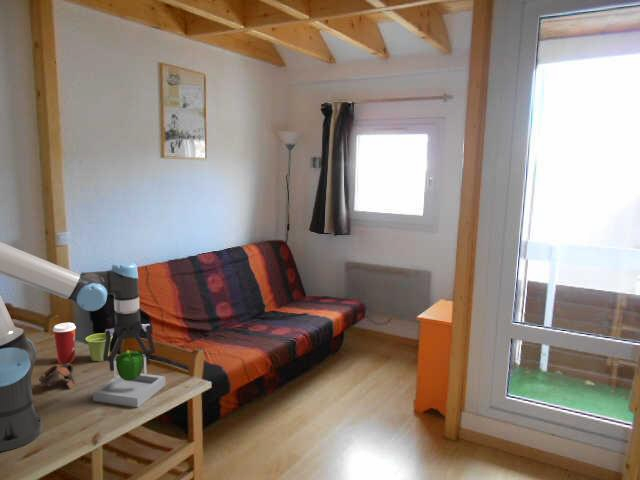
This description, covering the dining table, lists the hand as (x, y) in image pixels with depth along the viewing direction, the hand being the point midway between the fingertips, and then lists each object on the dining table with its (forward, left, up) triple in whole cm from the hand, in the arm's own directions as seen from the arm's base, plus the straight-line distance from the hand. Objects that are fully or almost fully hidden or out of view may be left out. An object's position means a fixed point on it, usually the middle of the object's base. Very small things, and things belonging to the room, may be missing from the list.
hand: (130, 376), depth 156 cm
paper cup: (+16, +39, -6) cm, 43 cm away
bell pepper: (0, 0, 0) cm, 0 cm away
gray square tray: (0, 0, -6) cm, 6 cm away
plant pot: (+21, +28, -6) cm, 36 cm away
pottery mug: (-2, +26, -6) cm, 27 cm away
